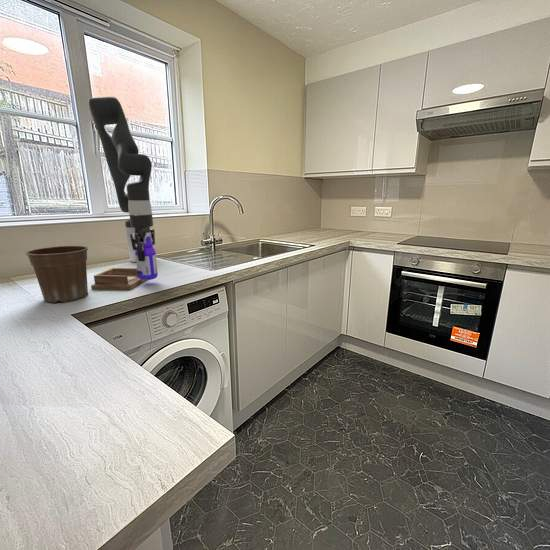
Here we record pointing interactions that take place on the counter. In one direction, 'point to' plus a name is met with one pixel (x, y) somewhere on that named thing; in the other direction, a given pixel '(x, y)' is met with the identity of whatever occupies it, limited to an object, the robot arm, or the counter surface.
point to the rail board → (117, 279)
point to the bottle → (147, 262)
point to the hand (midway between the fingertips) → (146, 258)
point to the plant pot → (60, 272)
